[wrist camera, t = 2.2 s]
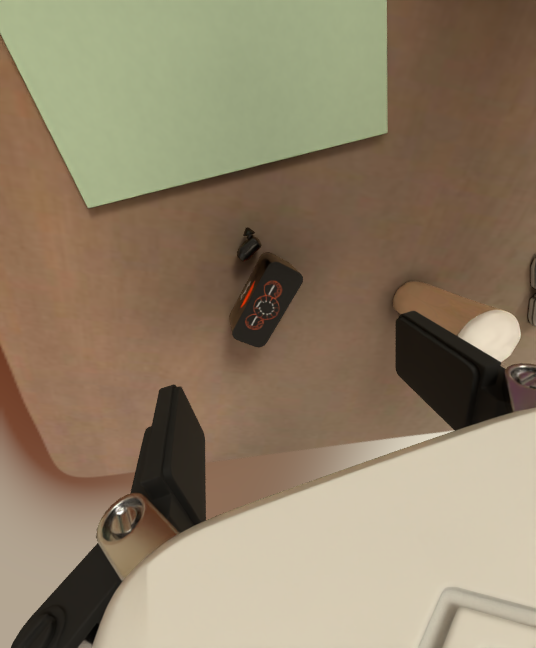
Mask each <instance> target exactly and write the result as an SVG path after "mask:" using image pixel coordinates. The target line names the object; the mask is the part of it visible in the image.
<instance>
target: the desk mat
mask: <svg viewBox="0 0 536 648" xmlns="http://www.w3.org/2000/svg"><path fill="white" fill-rule="evenodd" d="M0 34H1V36H2V38H3V40H4V42H5V44H6V46H7V48H8V50H9V52H10V54H11V56H12V58H13V60H14V62H15V64H16V66H17V68H18V70H19V72H20V74H21V76H22V78H23V80H24V82H25V84H26V86H27V88H28V90H29V92H30V94H31V96H32V98H33V100H34V102H35V104H36V106H37V108H38V110H39V112H40V114H41V116H42V118H43V119H44V121H45V123H46V125H47V127H48V129H49V131H50V133H51V135H52V137H53V139H54V141H55V143H56V145H57V147H58V149H59V151H60V153H61V155H62V157H63V159H64V161H65V163H66V165H67V167H68V169H69V171H70V173H71V175H72V177H73V179H74V181H75V183H76V185H77V187H78V189H79V191H80V193H81V195H82V197H83V199H84V201H85V203H86V205H87V207H88V208H93V207H97V206H100V205H104V204H108V203H112V202H116V201H120V200H124V199H128V198H132V197H136V196H140V195H144V194H148V193H152V192H156V191H160V190H164V189H168V188H172V187H176V186H180V185H184V184H188V183H192V182H196V181H200V180H203V179H207V178H211V177H215V176H219V175H223V174H227V173H231V172H235V171H239V170H243V169H247V168H251V167H255V166H259V165H263V164H267V163H271V162H275V161H279V160H283V159H287V158H291V157H295V156H299V155H303V154H306V153H310V152H314V151H318V150H322V149H326V148H330V147H334V146H338V145H342V144H346V143H350V142H354V141H358V140H362V139H366V138H370V137H374V136H378V135H382V134H386V133H387V0H0Z"/></svg>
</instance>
